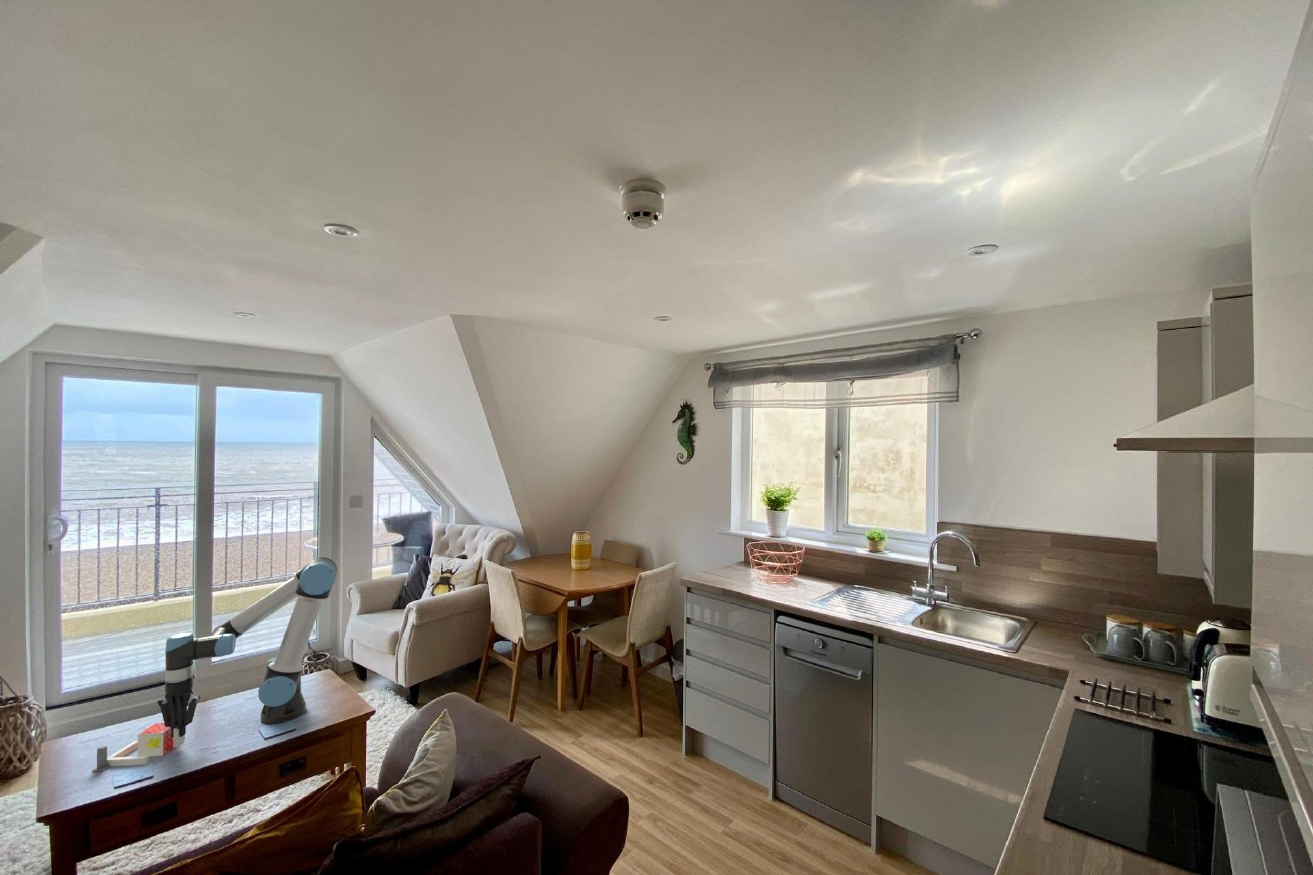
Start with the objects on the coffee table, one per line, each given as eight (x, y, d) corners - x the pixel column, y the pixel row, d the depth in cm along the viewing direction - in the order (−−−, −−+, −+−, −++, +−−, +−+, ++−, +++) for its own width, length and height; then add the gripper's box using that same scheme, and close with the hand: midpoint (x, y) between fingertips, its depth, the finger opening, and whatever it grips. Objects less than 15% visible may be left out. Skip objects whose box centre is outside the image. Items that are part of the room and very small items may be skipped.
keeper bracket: (184, 737, 202) (184, 718, 203) (137, 769, 183) (138, 748, 183) (143, 739, 201) (144, 720, 202) (92, 771, 181) (92, 750, 182)
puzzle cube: (137, 757, 190) (137, 734, 190) (154, 745, 197) (154, 723, 198) (163, 755, 191) (163, 732, 191) (179, 743, 199) (179, 721, 199)
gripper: (206, 673, 199) (205, 738, 198) (168, 675, 198) (167, 740, 197) (190, 682, 192) (189, 750, 191) (151, 683, 190) (150, 752, 190)
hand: (178, 745), depth 194 cm, fingers closed
